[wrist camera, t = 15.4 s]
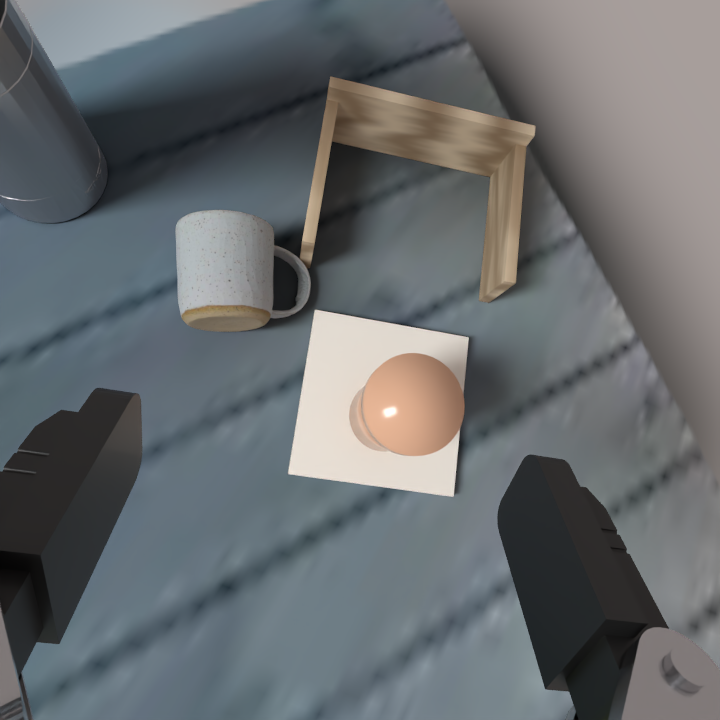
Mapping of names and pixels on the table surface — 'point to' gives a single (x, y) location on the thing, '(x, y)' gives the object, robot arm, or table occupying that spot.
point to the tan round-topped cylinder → (408, 406)
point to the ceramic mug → (230, 271)
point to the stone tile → (340, 385)
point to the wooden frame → (432, 160)
